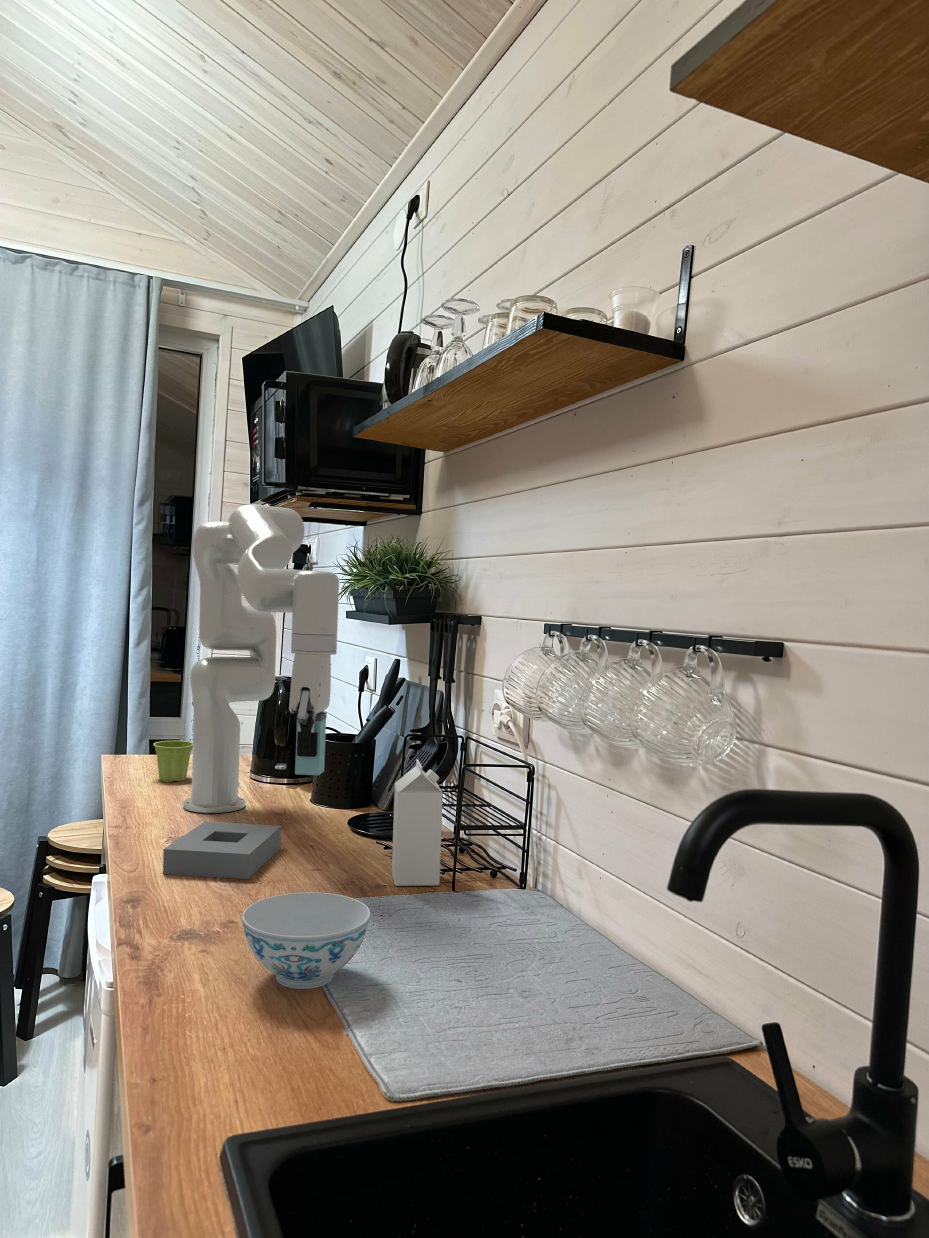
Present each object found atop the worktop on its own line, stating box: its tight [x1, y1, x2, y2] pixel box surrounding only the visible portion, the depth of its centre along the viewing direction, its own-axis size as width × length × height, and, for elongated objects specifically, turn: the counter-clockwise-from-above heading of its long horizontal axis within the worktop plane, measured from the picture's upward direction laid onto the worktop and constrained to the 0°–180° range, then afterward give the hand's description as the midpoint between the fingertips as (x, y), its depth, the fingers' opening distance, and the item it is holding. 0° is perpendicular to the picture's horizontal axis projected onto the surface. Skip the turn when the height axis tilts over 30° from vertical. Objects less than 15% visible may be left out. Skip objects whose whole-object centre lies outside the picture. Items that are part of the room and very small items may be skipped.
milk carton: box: [391, 759, 444, 887], centre depth 144 cm, size 7×7×19 cm
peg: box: [294, 711, 328, 776], centre depth 150 cm, size 4×4×10 cm
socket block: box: [162, 821, 282, 880], centre depth 151 cm, size 18×14×4 cm
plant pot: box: [153, 740, 193, 783], centre depth 214 cm, size 9×9×9 cm
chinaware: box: [241, 891, 371, 990], centre depth 106 cm, size 15×15×8 cm
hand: (310, 752), depth 150 cm, fingers closed on peg, 4 cm apart
